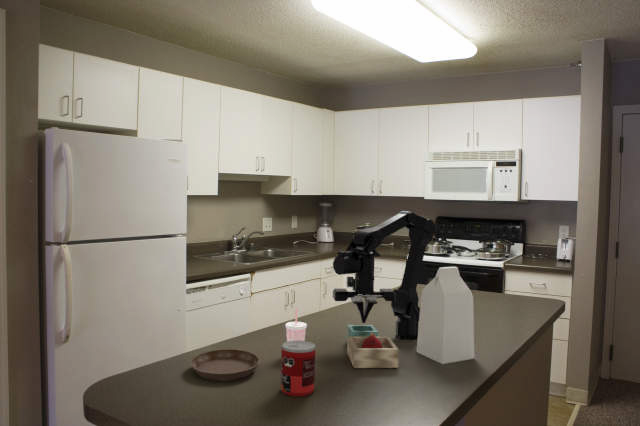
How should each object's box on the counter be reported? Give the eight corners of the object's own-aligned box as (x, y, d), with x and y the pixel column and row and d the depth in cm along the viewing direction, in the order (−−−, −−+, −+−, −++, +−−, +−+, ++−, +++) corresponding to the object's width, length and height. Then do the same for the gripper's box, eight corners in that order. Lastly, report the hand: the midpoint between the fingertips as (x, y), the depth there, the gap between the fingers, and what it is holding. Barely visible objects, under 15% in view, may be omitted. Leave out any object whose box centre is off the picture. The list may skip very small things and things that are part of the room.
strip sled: (378, 340, 165) (378, 324, 165) (398, 367, 140) (398, 349, 140) (340, 340, 164) (341, 324, 164) (354, 368, 139) (354, 349, 139)
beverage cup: (309, 353, 151) (310, 305, 151) (301, 359, 145) (302, 310, 145) (289, 350, 153) (290, 303, 153) (281, 356, 147) (282, 308, 147)
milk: (442, 364, 145) (445, 271, 144) (416, 351, 155) (419, 265, 154) (474, 358, 151) (478, 269, 149) (447, 347, 161) (450, 263, 160)
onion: (381, 365, 142) (381, 337, 142) (360, 363, 143) (360, 335, 143) (382, 359, 148) (383, 331, 148) (362, 357, 149) (363, 329, 149)
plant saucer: (227, 390, 123) (227, 377, 123) (175, 373, 133) (175, 362, 132) (272, 369, 138) (273, 357, 138) (223, 355, 148) (223, 345, 147)
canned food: (280, 384, 127) (281, 340, 126) (313, 384, 128) (314, 340, 127) (280, 397, 119) (281, 350, 119) (315, 397, 120) (316, 350, 119)
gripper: (388, 268, 167) (387, 315, 168) (331, 267, 165) (329, 316, 166) (397, 273, 156) (395, 325, 157) (335, 273, 154) (334, 325, 155)
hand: (363, 322), depth 159 cm, fingers closed
